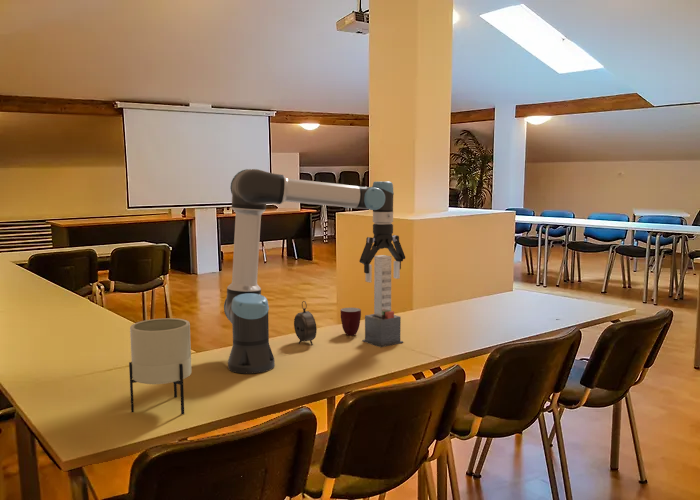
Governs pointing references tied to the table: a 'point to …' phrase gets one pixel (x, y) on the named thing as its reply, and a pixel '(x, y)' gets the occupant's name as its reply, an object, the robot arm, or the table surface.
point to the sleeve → (382, 330)
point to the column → (382, 285)
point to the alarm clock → (305, 326)
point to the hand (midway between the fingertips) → (382, 280)
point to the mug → (350, 320)
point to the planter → (160, 353)
